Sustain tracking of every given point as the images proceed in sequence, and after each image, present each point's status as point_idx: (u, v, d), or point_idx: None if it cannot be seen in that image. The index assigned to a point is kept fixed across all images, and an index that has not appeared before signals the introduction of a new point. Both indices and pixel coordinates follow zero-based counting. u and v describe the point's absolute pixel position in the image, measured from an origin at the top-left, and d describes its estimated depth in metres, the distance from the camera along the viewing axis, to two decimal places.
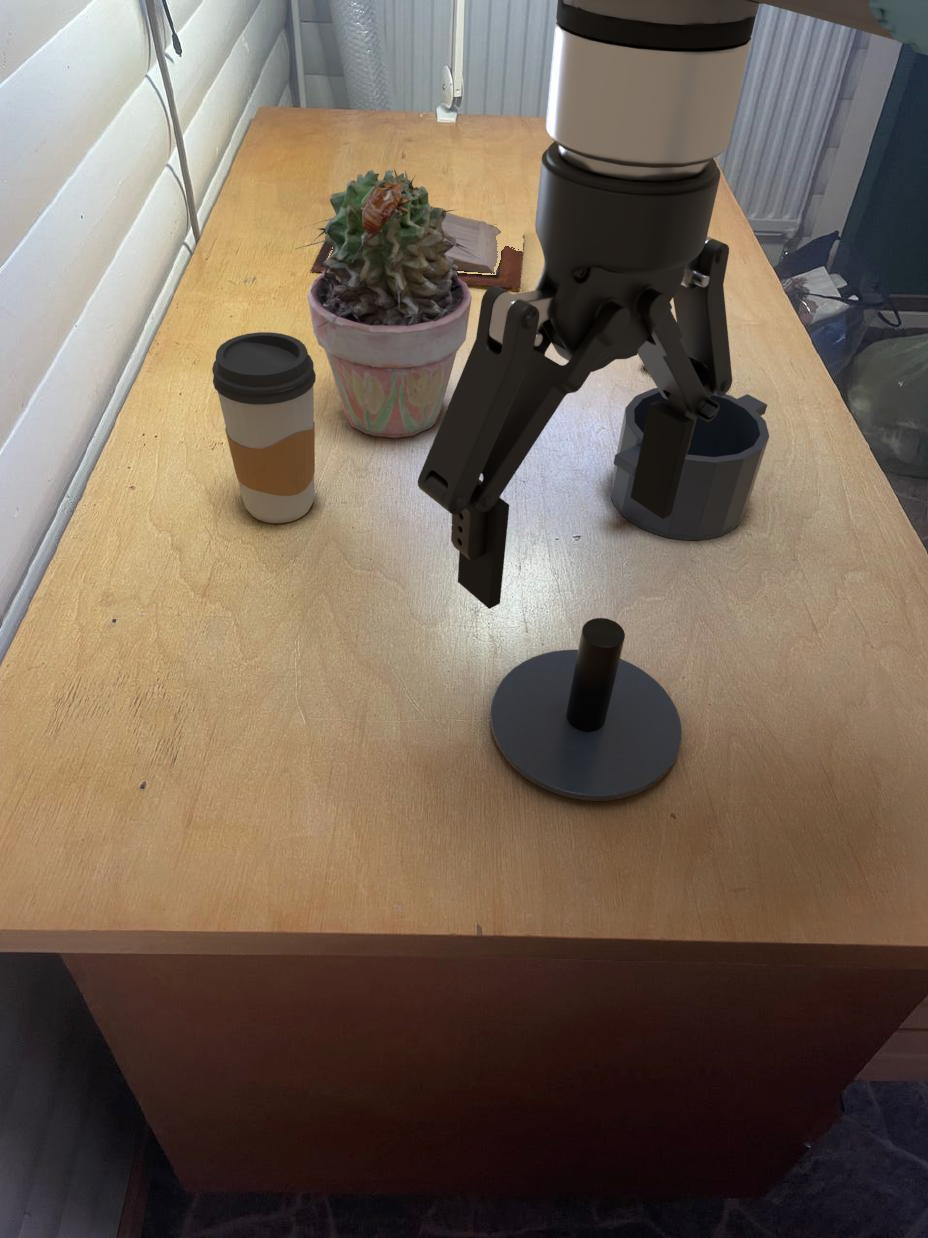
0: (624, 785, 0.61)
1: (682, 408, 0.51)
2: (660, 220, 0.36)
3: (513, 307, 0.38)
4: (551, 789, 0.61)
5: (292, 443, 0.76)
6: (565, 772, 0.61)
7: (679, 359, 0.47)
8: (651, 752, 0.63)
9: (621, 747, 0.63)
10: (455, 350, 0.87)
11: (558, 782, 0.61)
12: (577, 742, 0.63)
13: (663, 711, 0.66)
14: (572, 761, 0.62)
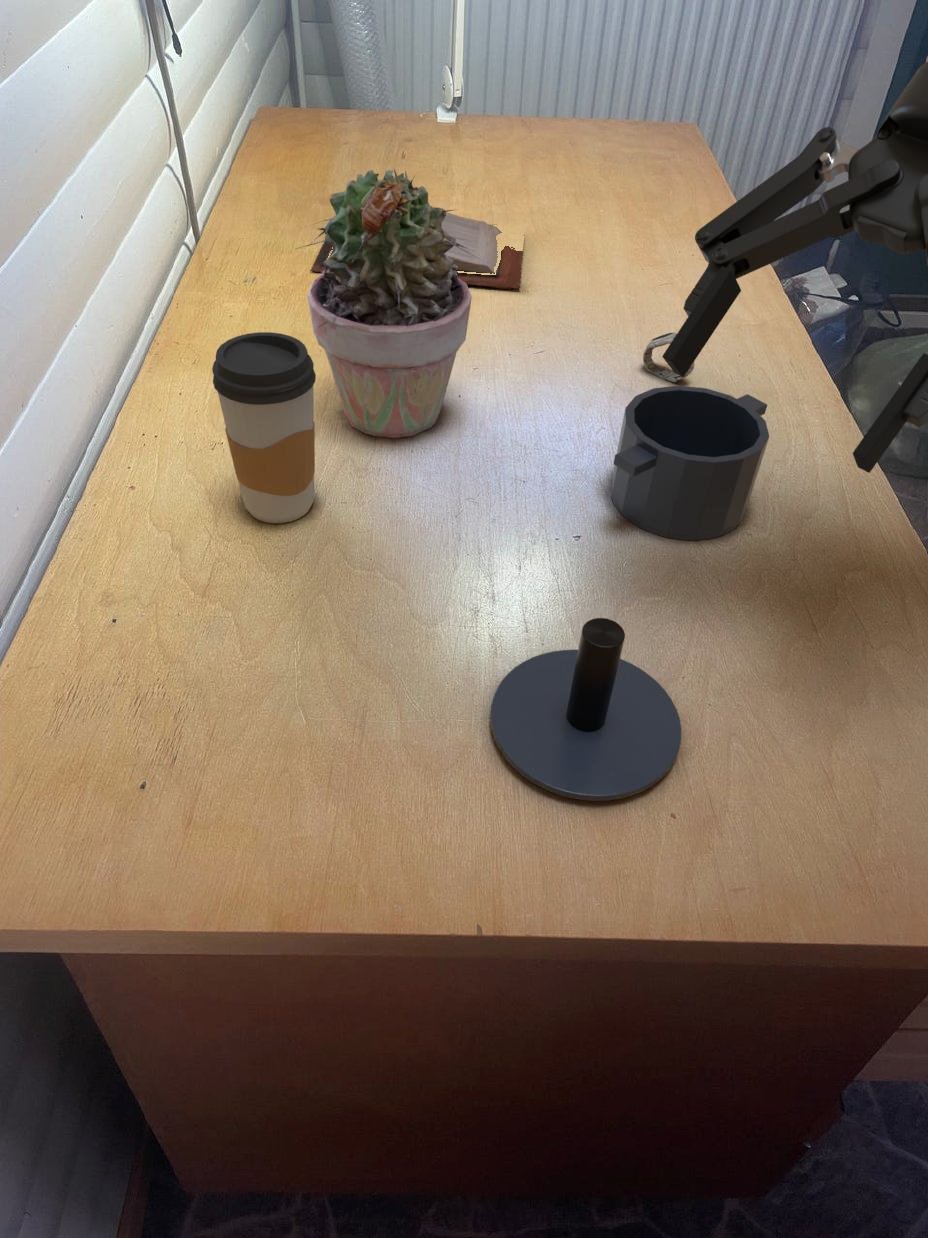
0: (624, 785, 0.61)
1: None
2: None
3: None
4: (551, 789, 0.61)
5: (292, 443, 0.76)
6: (565, 772, 0.61)
7: None
8: (651, 752, 0.63)
9: (621, 747, 0.63)
10: (455, 350, 0.87)
11: (558, 782, 0.61)
12: (577, 742, 0.63)
13: (663, 711, 0.66)
14: (572, 761, 0.62)
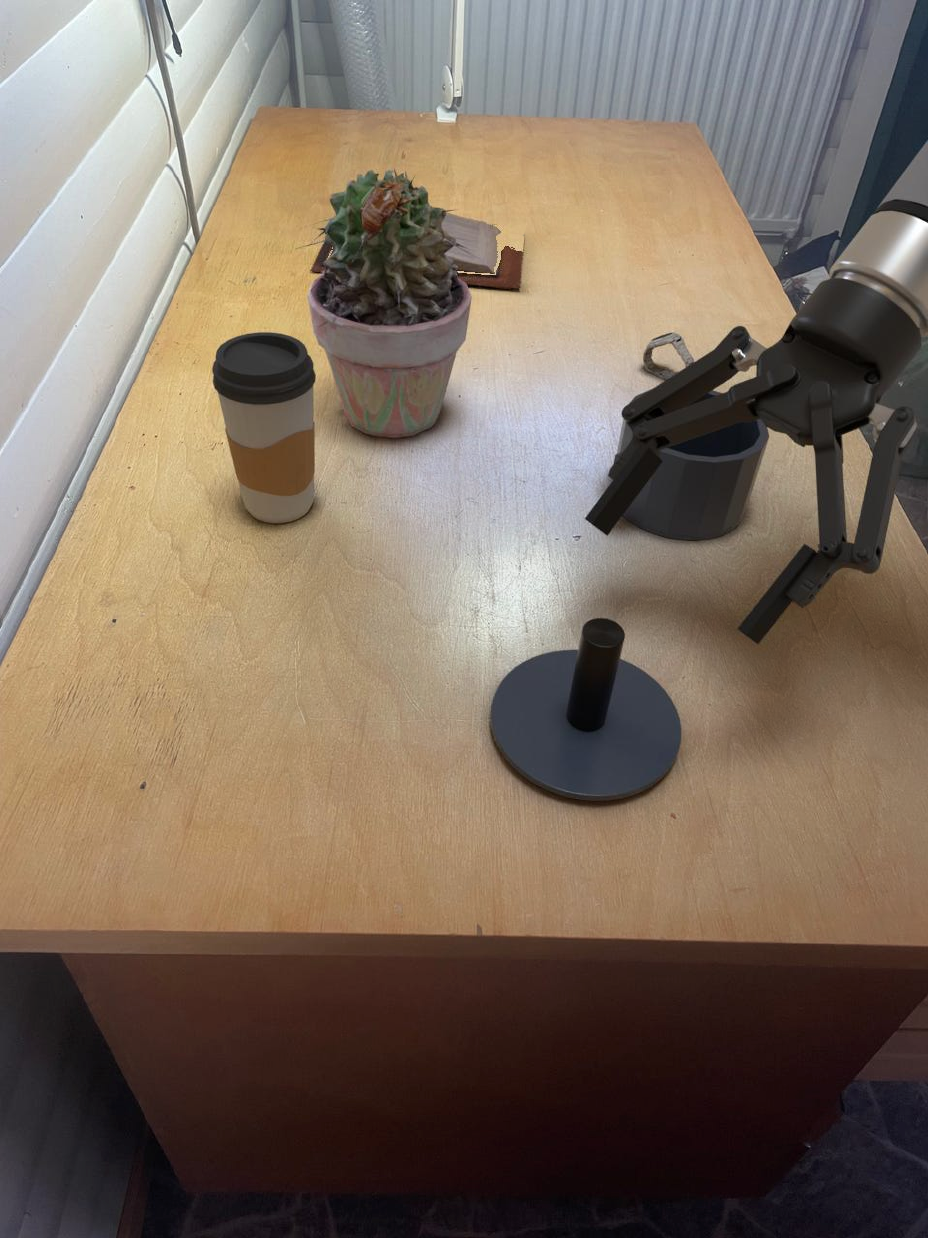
0: (624, 785, 0.61)
1: None
2: (827, 292, 0.56)
3: None
4: (551, 789, 0.61)
5: (292, 443, 0.76)
6: (565, 772, 0.61)
7: (828, 472, 0.56)
8: (651, 752, 0.63)
9: (621, 747, 0.63)
10: (455, 350, 0.87)
11: (558, 782, 0.61)
12: (577, 742, 0.63)
13: (663, 711, 0.66)
14: (572, 761, 0.62)
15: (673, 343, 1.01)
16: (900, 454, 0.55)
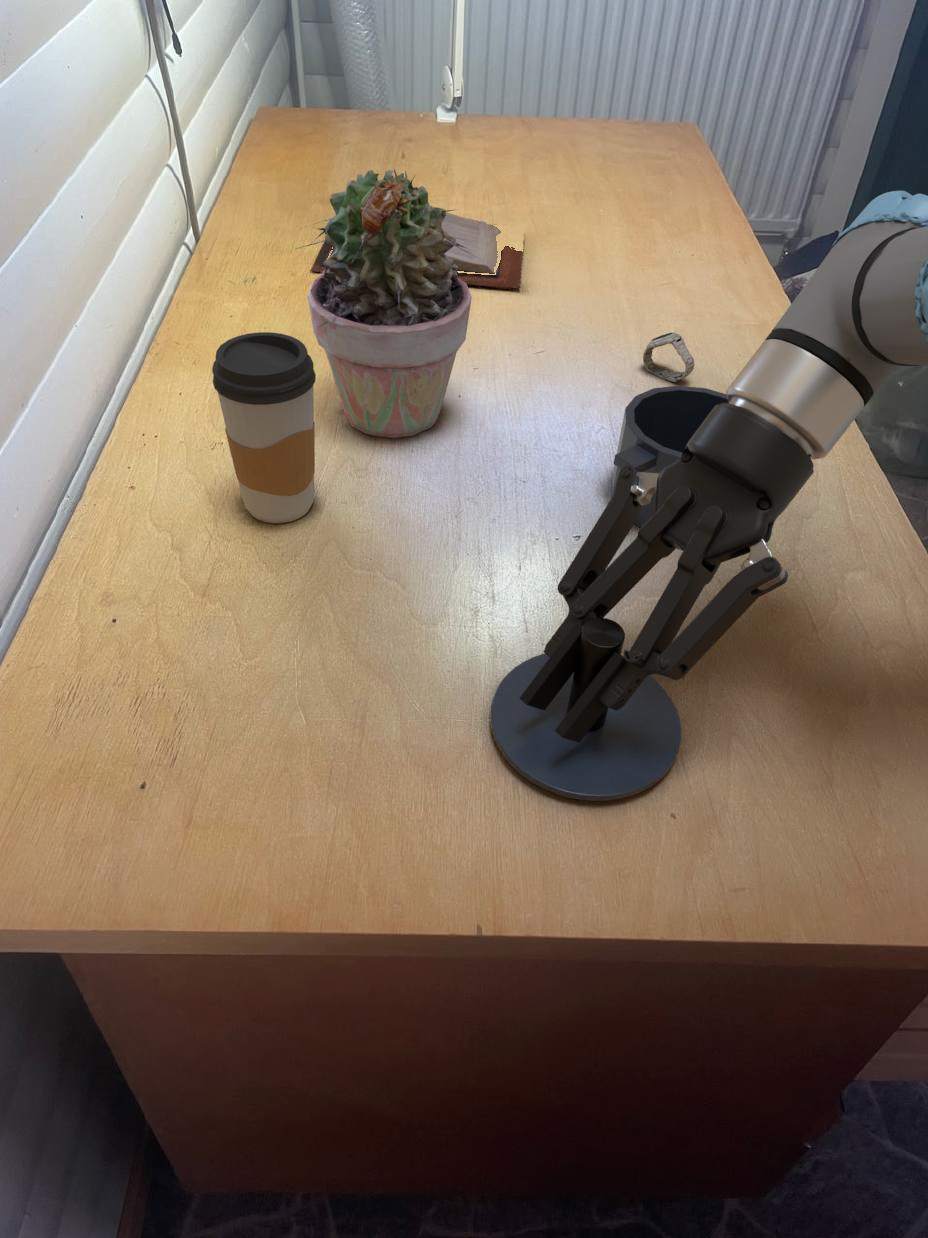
0: (624, 785, 0.61)
1: None
2: (719, 419, 0.56)
3: None
4: (551, 789, 0.61)
5: (292, 443, 0.76)
6: (565, 772, 0.61)
7: (675, 591, 0.58)
8: (651, 752, 0.63)
9: (621, 747, 0.63)
10: (455, 350, 0.87)
11: (558, 782, 0.61)
12: (577, 742, 0.63)
13: (663, 711, 0.66)
14: (572, 761, 0.62)
15: (673, 343, 1.01)
16: (755, 595, 0.57)
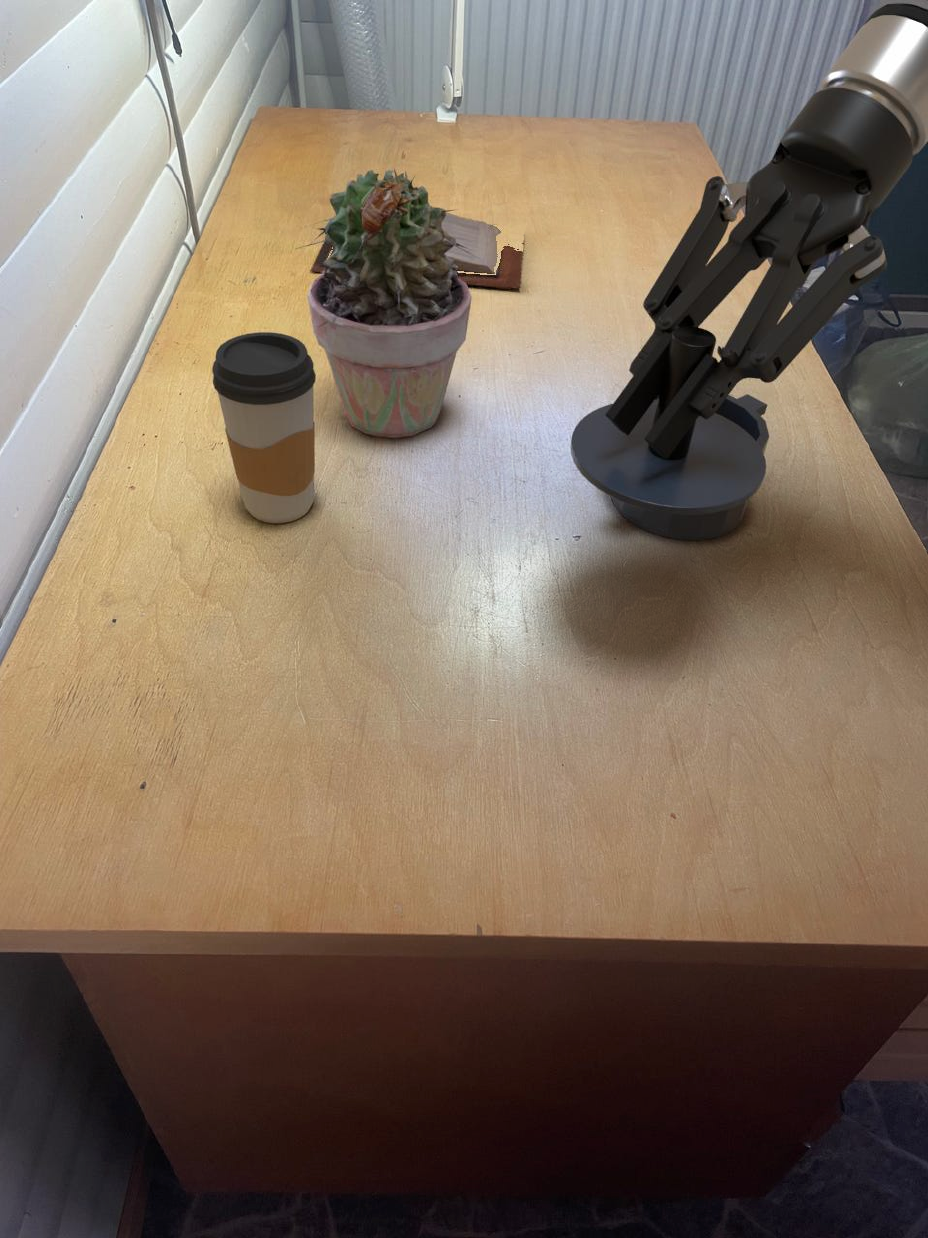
0: (713, 500, 0.60)
1: None
2: (817, 102, 0.55)
3: None
4: (639, 503, 0.60)
5: (292, 443, 0.76)
6: (652, 489, 0.60)
7: (770, 286, 0.57)
8: (737, 476, 0.62)
9: (706, 472, 0.62)
10: (455, 350, 0.87)
11: (646, 497, 0.60)
12: (661, 467, 0.62)
13: (746, 446, 0.65)
14: (658, 481, 0.61)
15: None
16: (853, 284, 0.56)
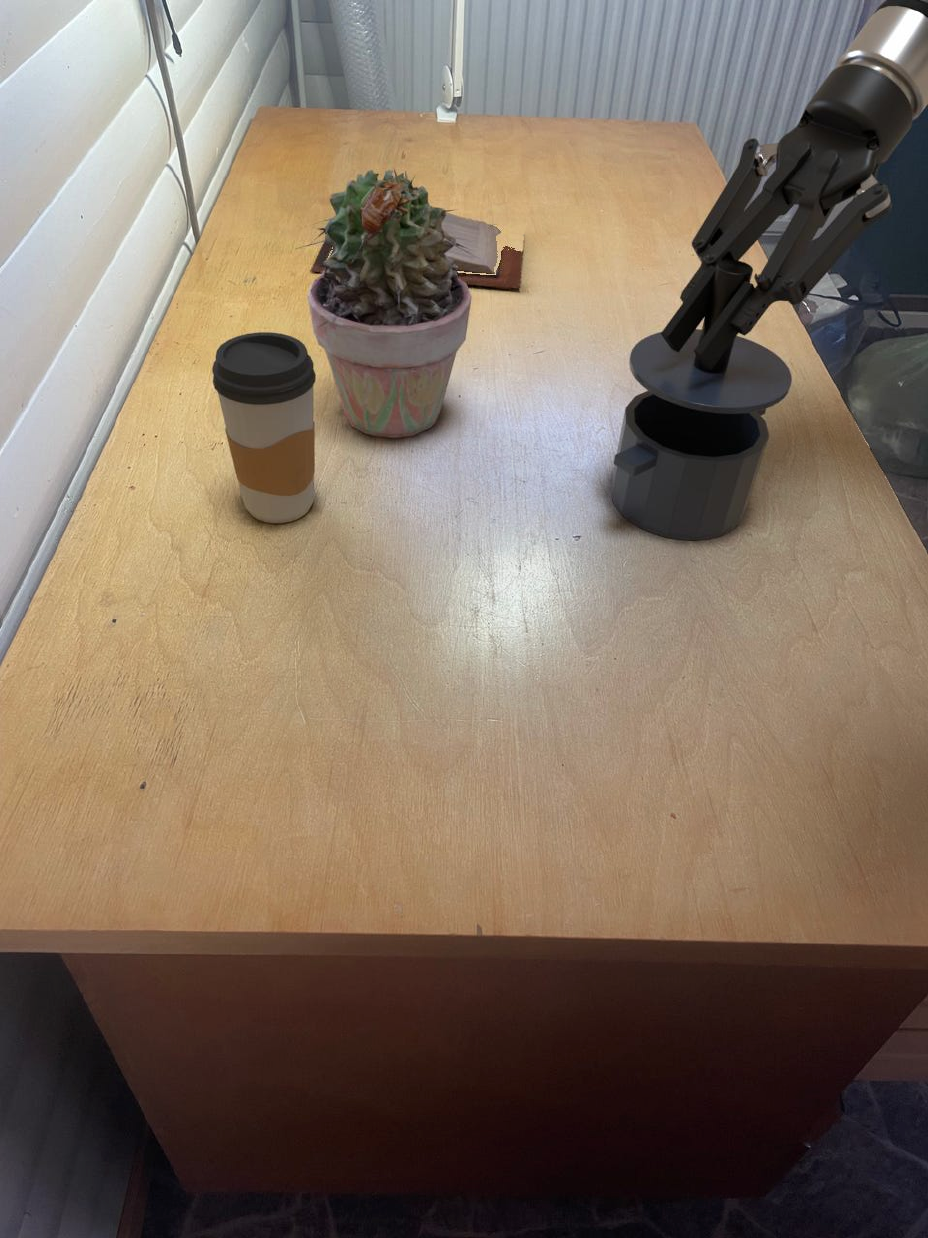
0: (749, 402, 0.73)
1: None
2: (835, 76, 0.69)
3: None
4: (689, 404, 0.73)
5: (292, 443, 0.76)
6: (699, 394, 0.74)
7: (797, 225, 0.70)
8: (768, 385, 0.75)
9: (743, 382, 0.76)
10: (455, 350, 0.87)
11: (694, 399, 0.73)
12: (706, 378, 0.76)
13: (774, 363, 0.78)
14: (703, 388, 0.75)
15: None
16: (864, 222, 0.69)
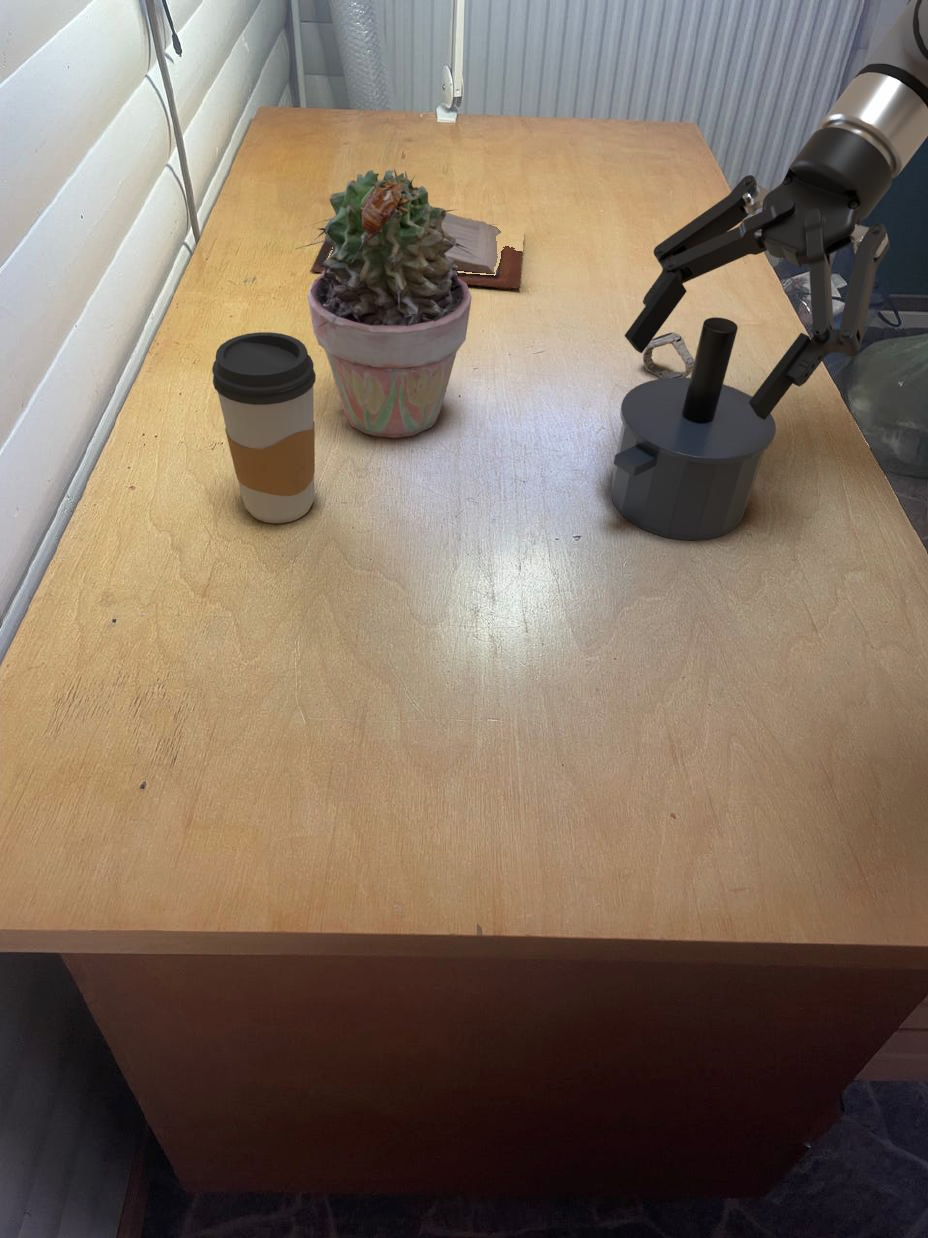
0: (734, 452, 0.77)
1: (813, 337, 0.71)
2: (818, 138, 0.72)
3: None
4: (677, 455, 0.76)
5: (292, 443, 0.76)
6: (687, 445, 0.77)
7: (819, 278, 0.71)
8: (753, 435, 0.79)
9: (729, 432, 0.79)
10: (455, 350, 0.87)
11: (682, 450, 0.77)
12: (693, 428, 0.79)
13: None
14: (691, 439, 0.78)
15: (673, 343, 1.01)
16: (875, 262, 0.71)
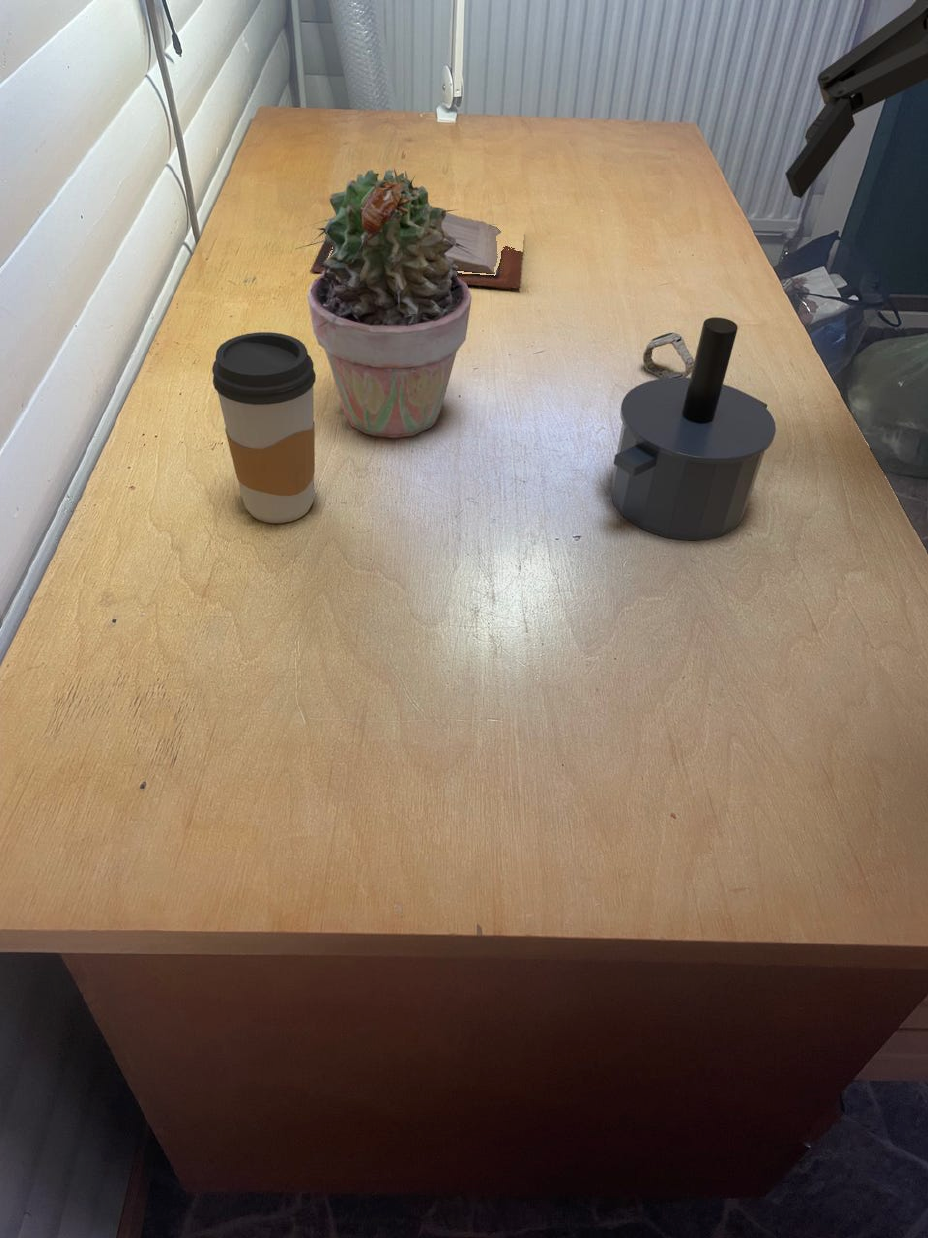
0: (734, 452, 0.77)
1: None
2: None
3: None
4: (677, 455, 0.76)
5: (292, 443, 0.76)
6: (687, 445, 0.77)
7: None
8: (753, 435, 0.79)
9: (729, 432, 0.79)
10: (455, 350, 0.87)
11: (682, 450, 0.77)
12: (693, 428, 0.79)
13: (759, 413, 0.82)
14: (691, 439, 0.78)
15: (673, 343, 1.01)
16: None
